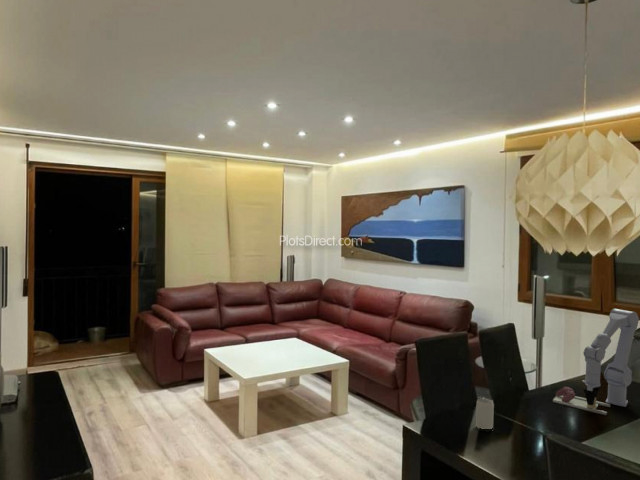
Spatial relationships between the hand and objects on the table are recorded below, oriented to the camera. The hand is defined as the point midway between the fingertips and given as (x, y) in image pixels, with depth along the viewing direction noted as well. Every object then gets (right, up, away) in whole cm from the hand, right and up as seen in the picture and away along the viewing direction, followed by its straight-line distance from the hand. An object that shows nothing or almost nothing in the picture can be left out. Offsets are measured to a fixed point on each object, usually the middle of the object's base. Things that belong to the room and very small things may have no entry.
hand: (591, 402), depth 200 cm
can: (-60, -1, -27) cm, 65 cm away
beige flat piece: (-5, -2, +4) cm, 7 cm away
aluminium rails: (-3, -2, +3) cm, 5 cm away
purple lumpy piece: (-8, -2, +7) cm, 11 cm away
